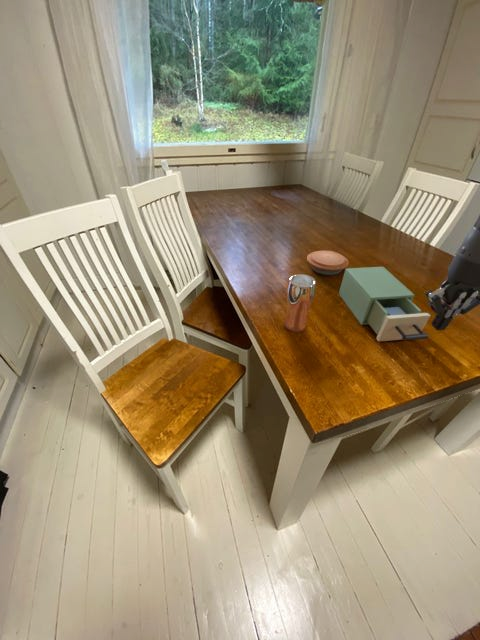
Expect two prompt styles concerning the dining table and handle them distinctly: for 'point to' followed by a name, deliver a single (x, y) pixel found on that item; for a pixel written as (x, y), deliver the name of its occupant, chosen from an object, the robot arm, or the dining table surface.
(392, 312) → the block
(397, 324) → the drawer
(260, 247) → the dining table surface
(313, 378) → the dining table surface
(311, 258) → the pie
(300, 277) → the metal cup
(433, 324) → the robot arm
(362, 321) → the cabinet
